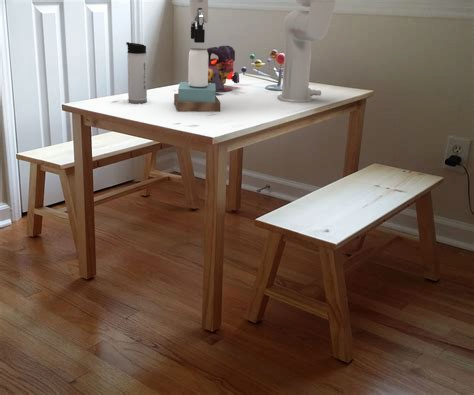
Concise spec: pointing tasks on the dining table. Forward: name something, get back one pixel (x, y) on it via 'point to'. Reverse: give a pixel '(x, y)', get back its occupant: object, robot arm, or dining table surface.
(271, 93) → the dining table surface
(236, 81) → the figurine
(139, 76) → the travel mug
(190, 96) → the tower top block
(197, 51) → the can
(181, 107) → the tower base block
